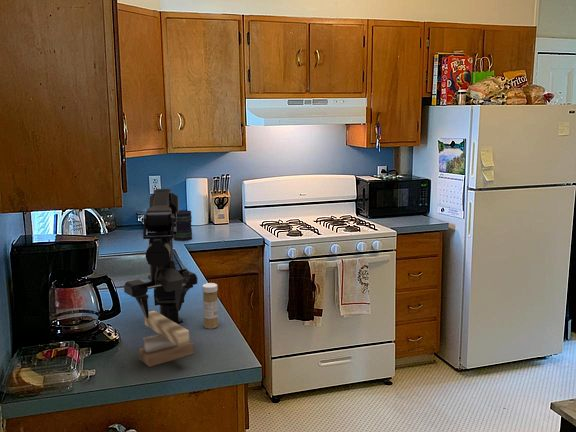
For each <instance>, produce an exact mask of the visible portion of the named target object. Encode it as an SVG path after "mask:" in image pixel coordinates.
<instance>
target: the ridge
mask: <svg viewBox="0 0 576 432" xmlns="http://www.w3.org/2000/svg"><path fill="white" fill-rule="evenodd" d="M184 328H185V327H184ZM185 329H187V328H185ZM138 353H139V354H138V356H139V360H140V361H141V362H142V363H144V364H145V365H146V366H148V367H149V368H151V367H154V366H158V365H160V364H161V365H162V364H164V363H167V362H171V361H174V360H178V359H182V358H185V357H188V356H192V355H195V354H194V353H195V351H194V343H193V342H192V341H190V340H189V344H186V345H183V346H177V345H176V344H174V343H173V342H171V341H169V340H168V339H166V338H165V337H163V336H162V335H160V334H159V333H157V334H154V335H150V336H146V337H143V347H140V348H138Z"/></svg>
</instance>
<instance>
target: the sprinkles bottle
mask: <svg viewBox="0 0 576 432" xmlns="http://www.w3.org/2000/svg"><path fill="white" fill-rule="evenodd" d="M201 290H202V294H203V295H202V296H203V299H202V304H203V307H202V308H203V311H202V312H203V327H204V328H205V329H211V330H213V329H215V328H218V327H219V310H218V309H219V306H218V302H219V301H218V284H217V283H214V282H208V283H204V284H202V288H201Z"/></svg>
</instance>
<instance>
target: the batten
mask: <svg viewBox="0 0 576 432" xmlns="http://www.w3.org/2000/svg"><path fill="white" fill-rule="evenodd" d="M148 312H149V317H148V318H146V317H145V315H144V314H143V315H144V325H145V326H147V328H149V329H151V330H152V331H154V332H156V333H157V334H160V335H162V336H163V337H165V338H166V339H168V340H169V341H171V342H173V343H174V344H176V345H177V346H183V345H186V344H189V341H190V331H189V329H187V328H186V329H185V327H184V326H182V325H180V324H179V323H175V322H173V321H172V320H170V319H168V318H166V317H165V316H163V315H161V314H160V312H158V311H156V310H151V311H148Z"/></svg>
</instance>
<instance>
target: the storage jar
mask: <svg viewBox="0 0 576 432" xmlns="http://www.w3.org/2000/svg"><path fill="white" fill-rule="evenodd" d="M192 218H193V217H192V211H191V210H183V209H181V210H180V209H179V213H177V218H176V234H174V238H173V241H175V242H188V241H192V240H193V230H192Z"/></svg>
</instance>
